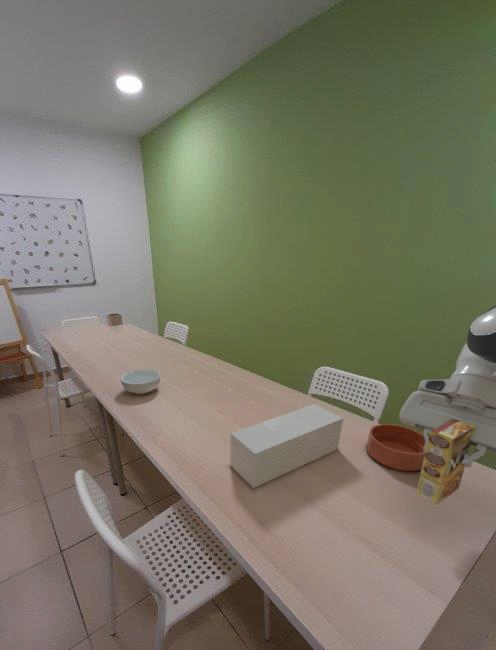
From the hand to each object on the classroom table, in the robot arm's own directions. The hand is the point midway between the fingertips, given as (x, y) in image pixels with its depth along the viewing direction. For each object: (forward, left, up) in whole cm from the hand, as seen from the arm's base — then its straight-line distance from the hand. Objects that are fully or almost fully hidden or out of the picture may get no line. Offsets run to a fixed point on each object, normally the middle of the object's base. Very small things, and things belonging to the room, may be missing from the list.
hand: (445, 458), depth 59 cm
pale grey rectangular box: (+34, +2, -17) cm, 38 cm away
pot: (+12, -22, -17) cm, 30 cm away
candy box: (0, -1, -9) cm, 9 cm away
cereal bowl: (+106, +5, -17) cm, 108 cm away
